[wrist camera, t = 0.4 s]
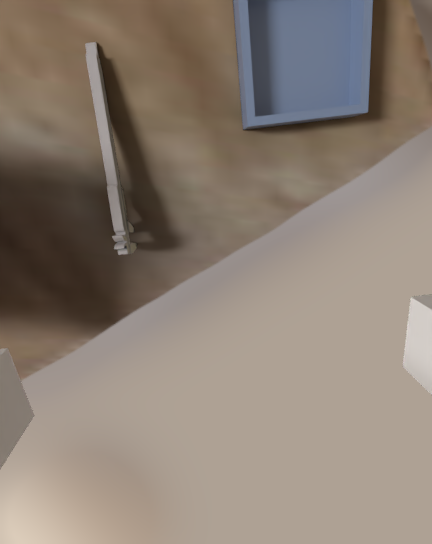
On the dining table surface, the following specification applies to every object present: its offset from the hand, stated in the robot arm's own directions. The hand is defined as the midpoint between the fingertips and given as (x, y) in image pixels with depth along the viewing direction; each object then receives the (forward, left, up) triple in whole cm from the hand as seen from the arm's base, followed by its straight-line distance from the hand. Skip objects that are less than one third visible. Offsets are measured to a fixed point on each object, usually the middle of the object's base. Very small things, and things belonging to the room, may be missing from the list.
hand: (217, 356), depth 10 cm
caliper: (-8, -8, -28) cm, 30 cm away
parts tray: (-15, +12, -27) cm, 33 cm away
